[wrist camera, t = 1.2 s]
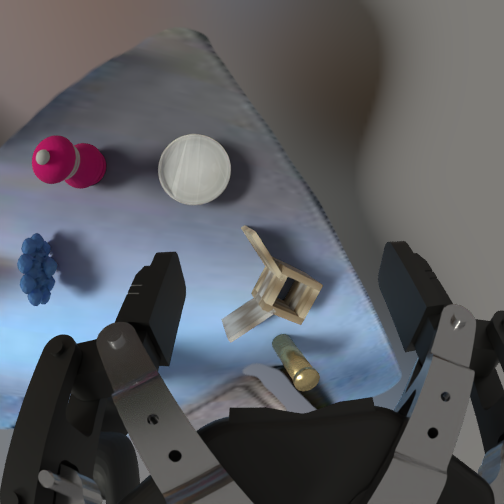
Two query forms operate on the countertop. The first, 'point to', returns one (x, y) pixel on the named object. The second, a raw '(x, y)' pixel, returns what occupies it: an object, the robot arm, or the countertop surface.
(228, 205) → the countertop surface
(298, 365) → the brass peg
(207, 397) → the countertop surface
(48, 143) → the pepper mill
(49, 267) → the grapes
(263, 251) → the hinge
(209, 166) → the ramekin
